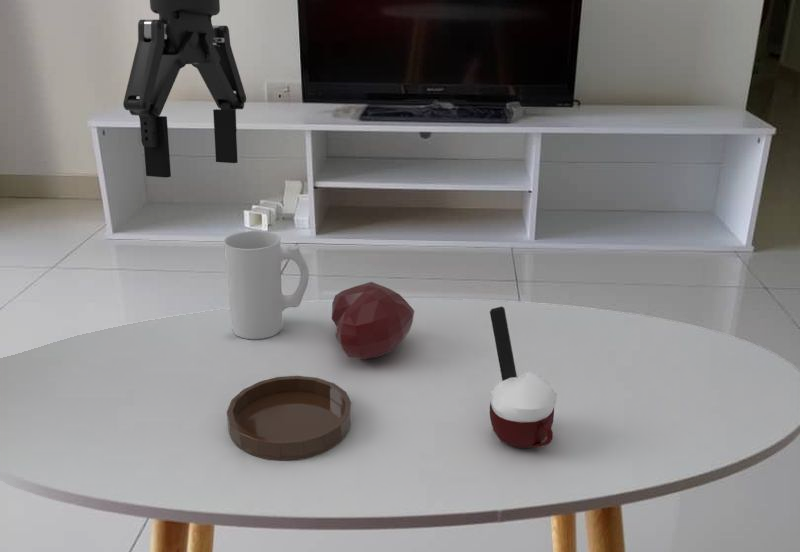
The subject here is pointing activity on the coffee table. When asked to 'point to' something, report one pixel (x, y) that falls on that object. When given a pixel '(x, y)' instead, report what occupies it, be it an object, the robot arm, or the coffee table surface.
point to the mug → (259, 282)
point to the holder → (289, 417)
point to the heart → (370, 320)
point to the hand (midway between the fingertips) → (195, 169)
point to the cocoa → (519, 396)
